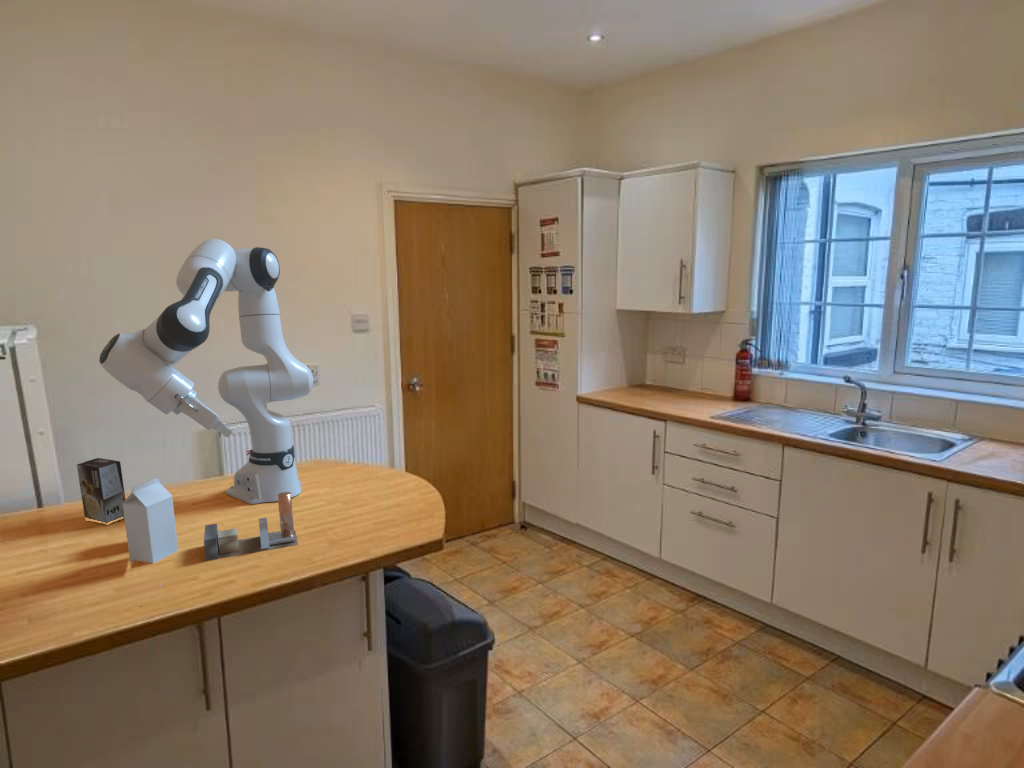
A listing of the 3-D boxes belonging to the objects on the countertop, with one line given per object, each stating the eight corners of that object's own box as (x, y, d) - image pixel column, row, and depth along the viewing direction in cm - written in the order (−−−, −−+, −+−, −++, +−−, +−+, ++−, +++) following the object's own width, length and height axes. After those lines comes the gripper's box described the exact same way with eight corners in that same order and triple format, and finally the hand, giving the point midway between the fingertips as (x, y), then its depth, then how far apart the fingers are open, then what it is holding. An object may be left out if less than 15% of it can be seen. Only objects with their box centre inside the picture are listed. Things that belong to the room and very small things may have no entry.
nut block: (219, 553, 149) (218, 537, 148) (220, 546, 152) (218, 531, 152) (238, 550, 150) (236, 534, 149) (238, 543, 154) (236, 528, 153)
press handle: (261, 549, 150) (257, 503, 148) (260, 535, 157) (256, 492, 155) (295, 543, 153) (292, 498, 151) (293, 530, 160) (289, 488, 158)
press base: (206, 566, 146) (203, 540, 144) (208, 550, 154) (205, 525, 152) (298, 550, 153) (296, 525, 152) (295, 536, 161) (293, 511, 160)
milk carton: (179, 556, 151) (170, 479, 148) (153, 569, 145) (143, 489, 141) (156, 551, 153) (147, 476, 150) (130, 565, 147) (119, 486, 143)
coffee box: (129, 517, 175) (122, 460, 171) (107, 526, 169) (99, 467, 166) (106, 512, 178) (98, 457, 175) (83, 521, 172) (75, 464, 169)
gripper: (189, 385, 132) (244, 426, 139) (179, 380, 149) (228, 416, 156) (167, 409, 130) (224, 449, 137) (159, 401, 148) (210, 437, 154)
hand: (226, 431), depth 146 cm, fingers open, 8 cm apart
